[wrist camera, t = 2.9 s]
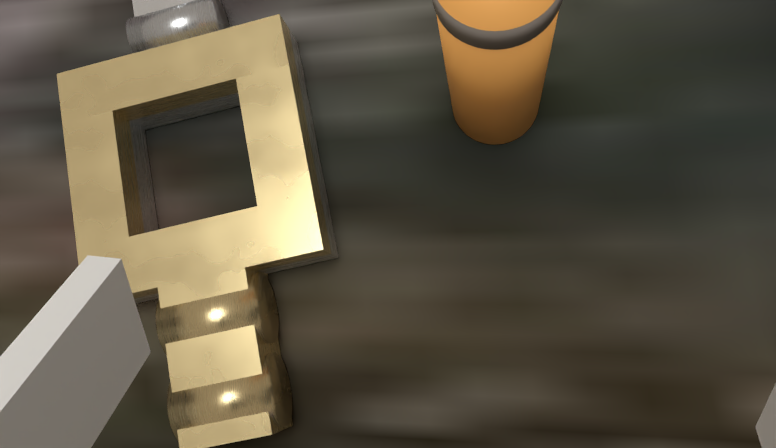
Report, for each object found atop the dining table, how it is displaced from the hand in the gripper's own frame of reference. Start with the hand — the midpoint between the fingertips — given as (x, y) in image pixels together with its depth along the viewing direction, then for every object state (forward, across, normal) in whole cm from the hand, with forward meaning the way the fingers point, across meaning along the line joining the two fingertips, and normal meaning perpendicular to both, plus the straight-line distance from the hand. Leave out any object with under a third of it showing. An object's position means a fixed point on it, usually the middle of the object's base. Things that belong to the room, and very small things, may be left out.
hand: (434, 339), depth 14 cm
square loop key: (+17, -13, -7) cm, 22 cm away
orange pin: (+20, +1, -4) cm, 20 cm away
